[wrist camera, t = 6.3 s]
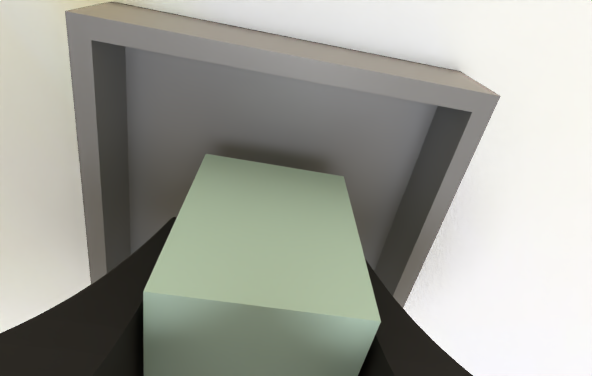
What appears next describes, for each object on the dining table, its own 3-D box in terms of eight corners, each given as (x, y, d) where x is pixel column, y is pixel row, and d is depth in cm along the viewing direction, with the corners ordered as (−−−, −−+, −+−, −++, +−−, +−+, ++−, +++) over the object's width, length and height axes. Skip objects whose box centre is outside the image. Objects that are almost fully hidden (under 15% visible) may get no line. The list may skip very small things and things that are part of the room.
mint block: (196, 261, 14) (143, 428, 9) (205, 153, 12) (143, 291, 7) (314, 277, 15) (328, 445, 10) (343, 176, 13) (381, 321, 7)
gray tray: (122, 277, 18) (95, 328, 16) (111, 1, 12) (65, 10, 10) (366, 308, 20) (378, 360, 17) (460, 71, 14) (500, 96, 11)
